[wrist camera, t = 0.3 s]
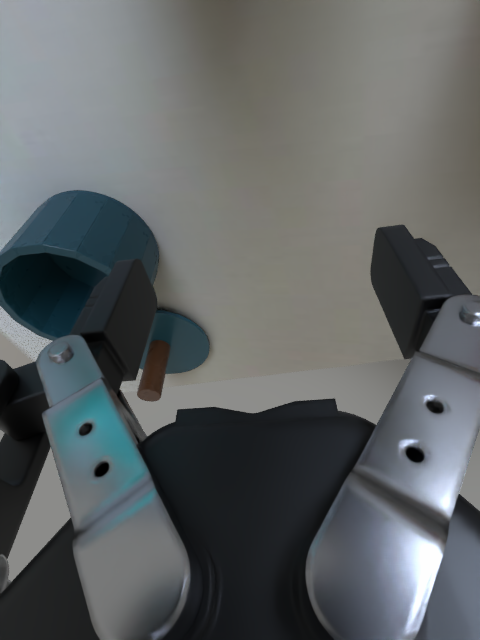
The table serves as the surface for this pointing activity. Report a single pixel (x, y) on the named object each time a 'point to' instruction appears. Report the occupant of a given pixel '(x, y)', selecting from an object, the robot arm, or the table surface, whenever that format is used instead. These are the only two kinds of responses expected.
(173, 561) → the robot arm
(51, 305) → the pot
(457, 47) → the table surface
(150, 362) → the lid
